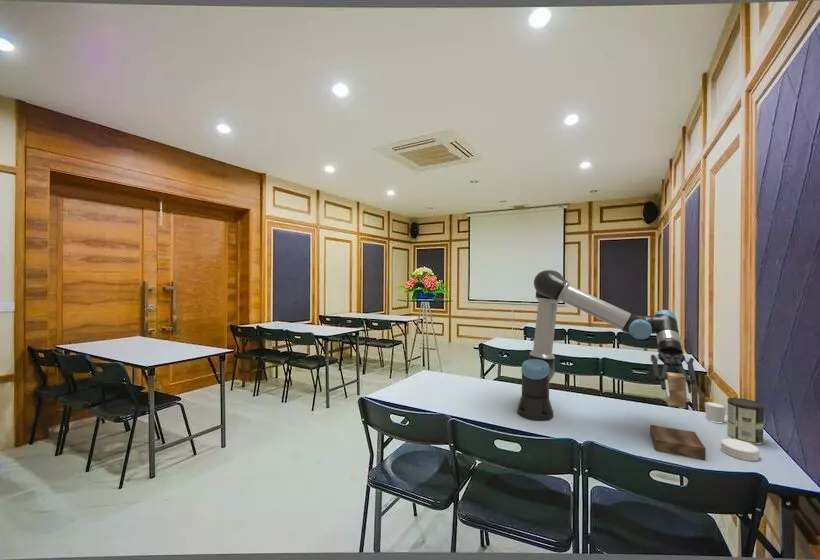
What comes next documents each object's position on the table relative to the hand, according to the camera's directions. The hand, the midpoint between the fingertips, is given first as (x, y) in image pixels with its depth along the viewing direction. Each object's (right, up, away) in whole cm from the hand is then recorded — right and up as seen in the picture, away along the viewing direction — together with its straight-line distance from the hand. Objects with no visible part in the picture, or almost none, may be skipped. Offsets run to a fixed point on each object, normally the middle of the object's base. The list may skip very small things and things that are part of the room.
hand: (677, 398), depth 127 cm
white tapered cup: (+36, -19, +27) cm, 48 cm away
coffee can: (+33, -19, +10) cm, 40 cm away
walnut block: (+2, -19, +4) cm, 19 cm away
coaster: (+21, -19, -1) cm, 28 cm away
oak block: (+2, -3, +3) cm, 5 cm away
